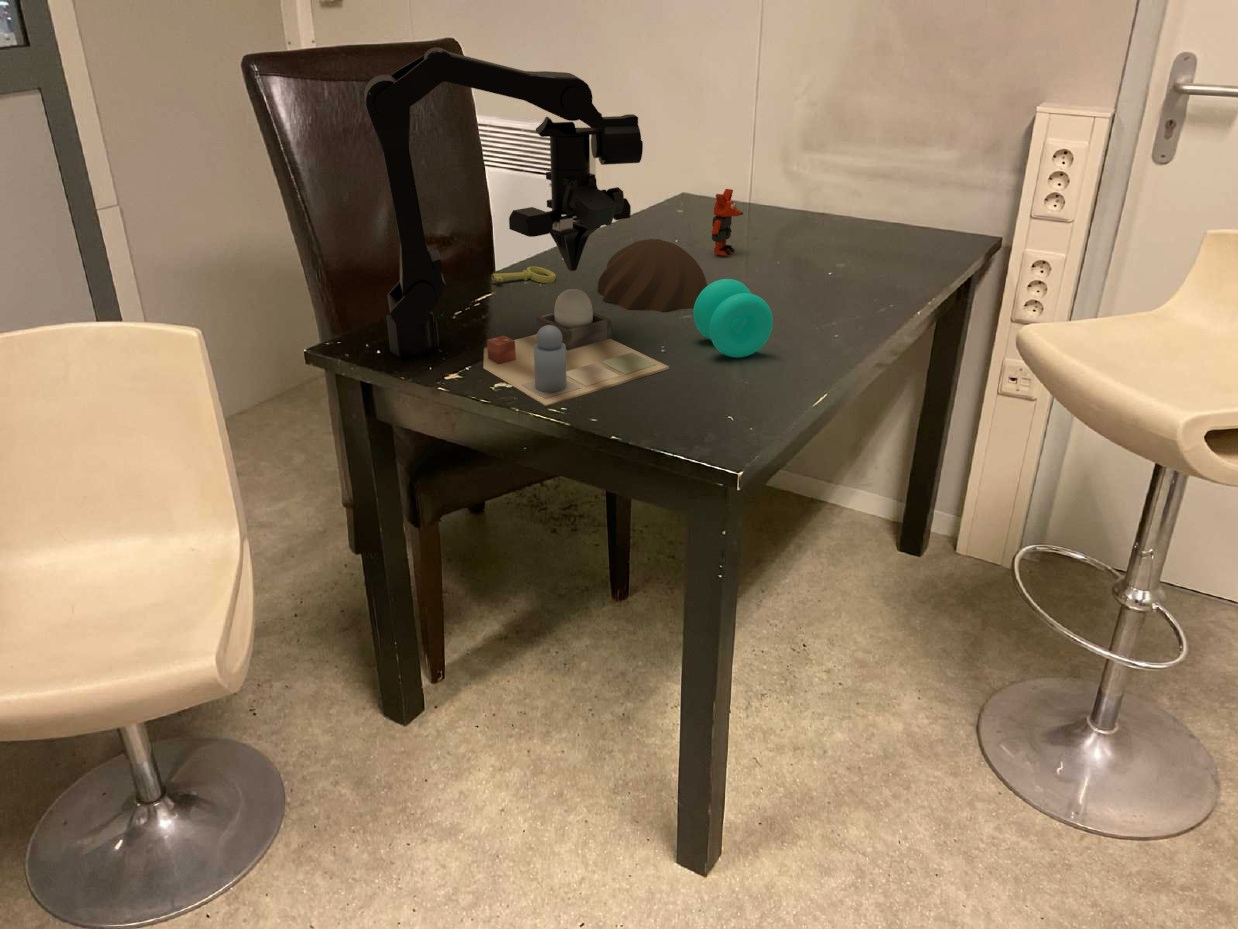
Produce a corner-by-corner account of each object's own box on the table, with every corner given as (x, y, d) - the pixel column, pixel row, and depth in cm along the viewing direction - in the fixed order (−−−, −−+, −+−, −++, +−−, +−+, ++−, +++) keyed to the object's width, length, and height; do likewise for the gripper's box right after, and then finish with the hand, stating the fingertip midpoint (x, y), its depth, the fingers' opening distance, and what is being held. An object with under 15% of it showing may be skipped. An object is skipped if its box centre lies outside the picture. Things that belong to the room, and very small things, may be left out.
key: (488, 285, 182) (488, 274, 181) (538, 270, 190) (537, 259, 189) (515, 294, 178) (515, 282, 177) (564, 279, 186) (564, 267, 185)
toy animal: (732, 259, 197) (736, 198, 191) (707, 256, 199) (709, 195, 193) (747, 249, 203) (750, 189, 197) (722, 245, 205) (725, 186, 200)
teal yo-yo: (712, 363, 150) (715, 299, 146) (689, 340, 159) (691, 279, 154) (773, 356, 153) (778, 293, 148) (747, 334, 161) (751, 273, 156)
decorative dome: (699, 316, 169) (702, 258, 164) (585, 307, 173) (584, 250, 168) (714, 281, 186) (717, 227, 181) (610, 274, 189) (609, 221, 185)
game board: (545, 407, 136) (544, 383, 135) (460, 356, 152) (458, 335, 151) (669, 368, 148) (670, 346, 147) (579, 325, 164) (578, 304, 163)
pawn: (546, 395, 139) (544, 333, 135) (529, 385, 142) (526, 324, 138) (572, 387, 141) (571, 326, 137) (554, 377, 144) (553, 318, 140)
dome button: (569, 335, 154) (568, 298, 151) (547, 324, 158) (546, 288, 156) (600, 327, 158) (600, 290, 155) (578, 316, 162) (577, 281, 159)
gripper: (548, 185, 136) (551, 295, 143) (654, 167, 146) (652, 271, 153) (504, 170, 143) (509, 276, 151) (608, 155, 154) (608, 255, 161)
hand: (572, 270), depth 154 cm, fingers closed
